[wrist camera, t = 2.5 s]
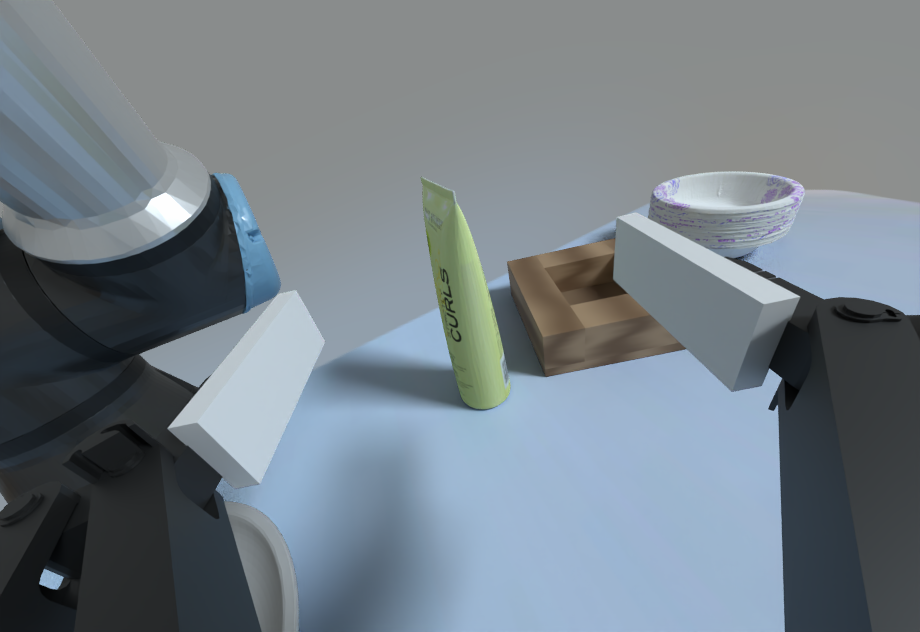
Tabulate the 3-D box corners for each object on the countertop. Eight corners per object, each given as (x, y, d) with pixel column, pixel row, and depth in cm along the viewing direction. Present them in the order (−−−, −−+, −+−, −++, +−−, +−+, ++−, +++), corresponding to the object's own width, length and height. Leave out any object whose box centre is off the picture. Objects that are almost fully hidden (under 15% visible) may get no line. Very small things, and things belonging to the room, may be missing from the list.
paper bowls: (817, 260, 37) (849, 190, 33) (675, 280, 40) (687, 217, 35) (732, 217, 50) (747, 162, 45) (628, 234, 52) (633, 184, 48)
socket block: (545, 376, 31) (542, 336, 28) (511, 294, 44) (507, 261, 42) (714, 343, 30) (728, 299, 28) (627, 269, 44) (631, 234, 41)
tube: (445, 401, 31) (376, 196, 20) (469, 366, 35) (420, 174, 24) (499, 418, 28) (453, 191, 17) (519, 377, 32) (490, 166, 21)
